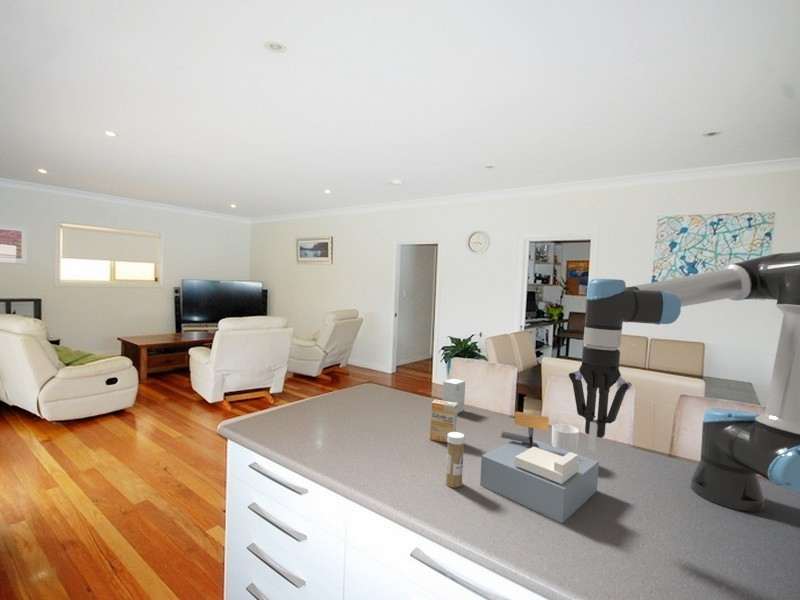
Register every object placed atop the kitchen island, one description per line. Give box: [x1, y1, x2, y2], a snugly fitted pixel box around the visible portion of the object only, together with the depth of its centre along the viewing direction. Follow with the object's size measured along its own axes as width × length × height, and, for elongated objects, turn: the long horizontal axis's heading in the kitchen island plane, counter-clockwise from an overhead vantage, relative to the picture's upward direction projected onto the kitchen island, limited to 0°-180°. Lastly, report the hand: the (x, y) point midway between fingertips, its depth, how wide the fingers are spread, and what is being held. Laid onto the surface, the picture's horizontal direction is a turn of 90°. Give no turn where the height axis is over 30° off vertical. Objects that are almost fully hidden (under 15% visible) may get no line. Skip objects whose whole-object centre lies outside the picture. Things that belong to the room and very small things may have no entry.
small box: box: [442, 378, 466, 415], centre depth 165 cm, size 8×6×13 cm
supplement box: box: [429, 398, 458, 444], centre depth 134 cm, size 8×5×13 cm, turn 68°
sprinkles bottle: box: [445, 431, 466, 488], centre depth 104 cm, size 5×5×14 cm
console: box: [479, 439, 600, 524], centre depth 104 cm, size 22×22×8 cm
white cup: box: [551, 423, 580, 454], centre depth 122 cm, size 8×8×10 cm
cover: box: [514, 447, 579, 484], centre depth 97 cm, size 12×10×4 cm
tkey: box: [500, 410, 550, 444], centre depth 113 cm, size 2×12×8 cm, turn 64°
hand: (593, 449), depth 89 cm, fingers closed
